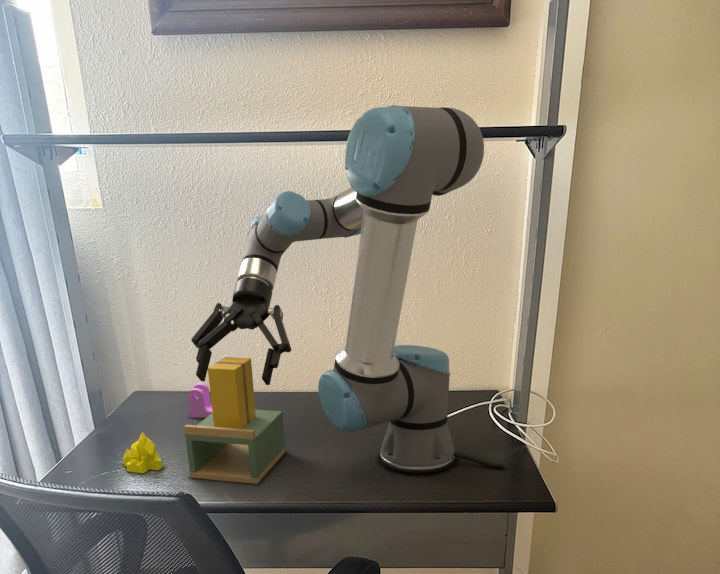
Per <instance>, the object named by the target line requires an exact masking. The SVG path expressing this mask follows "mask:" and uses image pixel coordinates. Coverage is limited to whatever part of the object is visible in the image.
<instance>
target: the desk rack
mask: <svg viewBox="0 0 720 574" xmlns="http://www.w3.org/2000/svg"><path fill="white" fill-rule="evenodd" d="M255 411H256V417H254V418H253V419H252V420H251V421H250V422H249V423H248V424H247V425H246V426H244V427H243V428H242V429H236V428H223V427H214V420H213V413H212V414H211V415H209V416H208V417H207V418H203V420H201V421H200V422H199V423H198V424H185V425H184V426H183V430H184V436H185V445H186V453H187V459H188V460H187V461H188V466H189V467H188V469H189V475H190V479H201V480H212V481H221V482H232V483H242V484H243V483H244V484H252V485H253V484H254V485H258V484H259V483H260V482H261V481H262V479H263V478H264V477H265V476H266V475H267V474H268V473H269V471H270V470H271V469H272V468H273V467H274V466H275V465H276V464H277V462H278V461H279V460H280V459H281V458H282V456H283V455H285V453H286V446H285V445H286V444H285V429H284V414H283V411H280V410H266V409H255Z"/></svg>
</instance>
